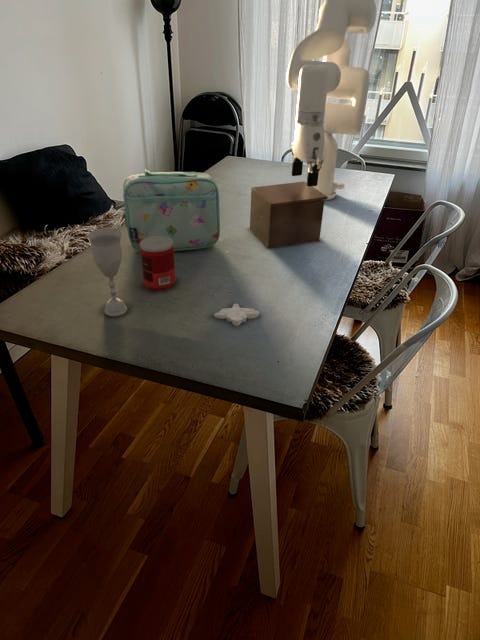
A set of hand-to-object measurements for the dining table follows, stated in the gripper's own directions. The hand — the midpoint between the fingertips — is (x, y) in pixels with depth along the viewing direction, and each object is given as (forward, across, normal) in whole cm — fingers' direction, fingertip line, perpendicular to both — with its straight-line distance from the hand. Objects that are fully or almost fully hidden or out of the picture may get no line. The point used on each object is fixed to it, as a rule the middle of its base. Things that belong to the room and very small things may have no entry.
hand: (304, 180), depth 135 cm
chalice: (+15, -28, +59) cm, 67 cm away
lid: (+4, 0, +5) cm, 6 cm away
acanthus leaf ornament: (+15, -39, +34) cm, 54 cm away
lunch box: (+16, +1, +39) cm, 43 cm away
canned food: (+16, -19, +47) cm, 53 cm away
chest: (+16, -1, +5) cm, 17 cm away
